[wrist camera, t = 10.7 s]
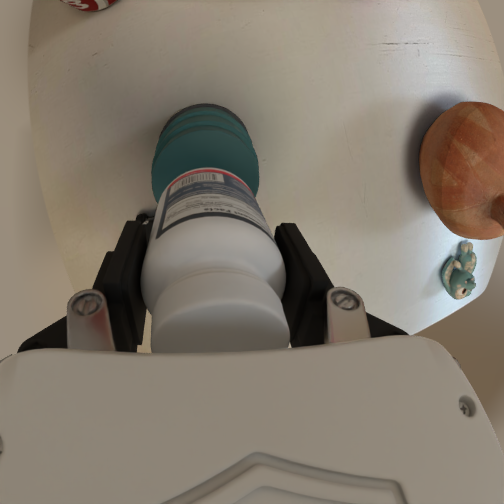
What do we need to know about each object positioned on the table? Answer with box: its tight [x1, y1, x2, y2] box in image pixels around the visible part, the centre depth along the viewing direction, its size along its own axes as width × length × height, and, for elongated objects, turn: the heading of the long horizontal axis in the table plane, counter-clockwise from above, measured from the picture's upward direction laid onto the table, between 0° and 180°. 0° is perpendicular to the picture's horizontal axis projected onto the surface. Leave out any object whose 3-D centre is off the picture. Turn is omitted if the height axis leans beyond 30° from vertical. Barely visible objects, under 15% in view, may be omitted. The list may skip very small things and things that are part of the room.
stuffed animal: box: [442, 242, 476, 299], centre depth 43 cm, size 11×7×12 cm
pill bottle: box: [140, 168, 290, 353], centre depth 11 cm, size 5×5×9 cm
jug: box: [419, 102, 504, 240], centre depth 24 cm, size 18×18×20 cm
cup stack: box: [151, 104, 259, 204], centre depth 23 cm, size 9×9×11 cm
